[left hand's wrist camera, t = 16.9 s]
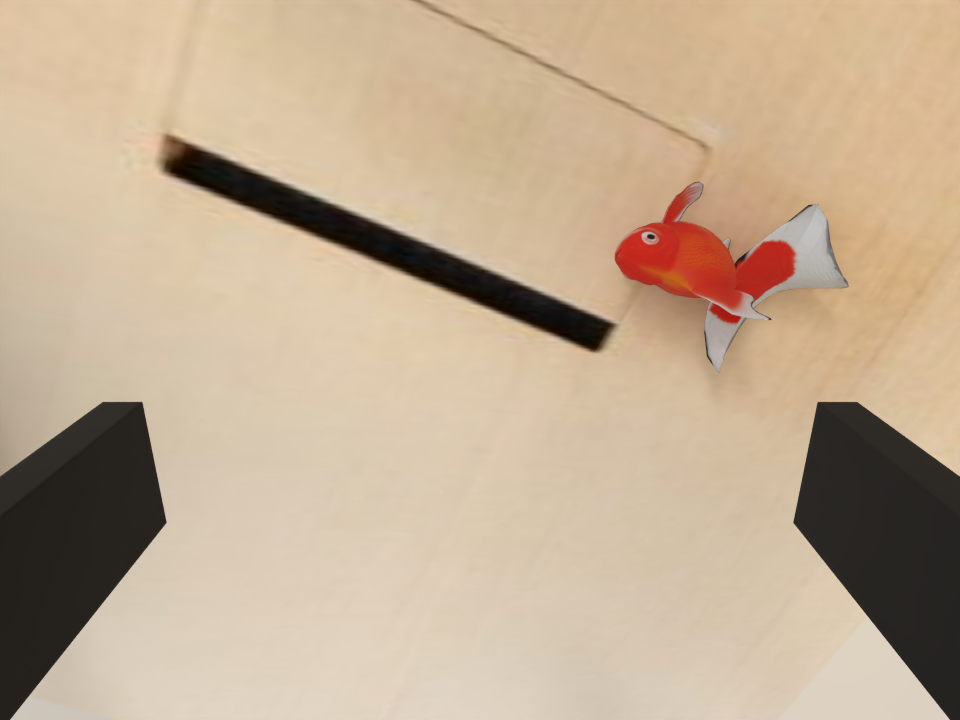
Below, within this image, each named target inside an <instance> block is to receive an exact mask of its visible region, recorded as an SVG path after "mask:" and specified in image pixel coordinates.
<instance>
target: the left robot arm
mask: <svg viewBox="0 0 960 720" xmlns="http://www.w3.org/2000/svg"><path fill="white" fill-rule="evenodd" d="M166 523H167V522H166V517H165V512H164V507H163V503H162V498H161V493H160V488H159V483H158V478H157V473H156V468H155V463H154V458H153V453H152V448H151V443H150V438H149V433H148V428H147V423H146V418H145V413H144V408H143V403H142V402H102V403H101V404H100V405H98V406H97V407H95V408H94V409H93V410H91V411H90V412H89V413H87V414H86V415H84V416H83V417H82V418H80V419H79V420H78V421H76V422H75V423H73V424H72V425H71V426H69V427H68V428H67V429H65V430H64V431H62V432H61V433H60V434H58V435H57V436H55V437H54V438H53V439H51V440H50V441H49V442H47V443H46V444H44V445H43V446H42V447H40V448H39V449H38V450H36V451H35V452H33V453H32V454H31V455H29V456H28V457H27V458H25V459H24V460H22V461H21V462H20V463H18V464H17V465H16V466H14V467H13V468H11V469H10V470H9V471H7V472H6V473H5V474H3V475H2V476H0V720H10V719H11V718H12V717H13V715H14V714H15V713H16V711H17V710H18V709H19V708H20V706H21V705H22V704H23V703H24V701H25V700H26V699H27V698H28V696H29V695H30V694H31V693H32V691H33V690H34V689H35V688H36V686H37V685H38V684H39V683H40V681H41V680H42V679H43V678H44V676H45V675H46V674H47V672H48V671H49V670H50V669H51V667H52V666H53V665H54V664H55V662H56V661H57V660H58V659H59V657H60V656H61V655H62V654H63V652H64V651H65V650H66V649H67V647H68V646H69V645H70V644H71V642H72V641H73V640H74V639H75V637H76V636H77V635H78V633H79V632H80V631H81V630H82V628H83V627H84V626H85V625H86V623H87V622H88V621H89V620H90V618H91V617H92V616H93V615H94V613H95V612H96V611H97V610H98V608H99V607H100V606H101V605H102V603H103V602H104V601H105V600H106V598H107V597H108V596H109V594H110V593H111V592H112V591H113V589H114V588H115V587H116V586H117V584H118V583H119V582H120V581H121V579H122V578H123V577H124V576H125V574H126V573H127V572H128V571H129V569H130V568H131V567H132V566H133V564H134V563H135V562H136V561H137V559H138V558H139V557H140V555H141V554H142V553H143V552H144V550H145V549H146V548H147V547H148V545H149V544H150V543H151V542H152V540H153V539H154V538H155V537H156V535H157V534H158V533H159V532H160V530H161V529H162V528H163V527H164V525H165V524H166ZM793 523H794V524H795V525H796V527H797V528H798V529H799V530H800V532H801V533H802V534H803V535H804V537H805V538H806V539H807V540H808V542H809V543H810V544H811V545H812V547H813V548H814V549H815V550H816V552H817V553H818V554H819V555H820V557H821V558H822V559H823V561H824V562H825V563H826V564H827V566H828V567H829V568H830V569H831V571H832V572H833V573H834V574H835V576H836V577H837V578H838V579H839V581H840V582H841V583H842V584H843V586H844V587H845V588H846V589H847V591H848V592H849V593H850V594H851V596H852V597H853V598H854V600H855V601H856V602H857V603H858V605H859V606H860V607H861V608H862V610H863V611H864V612H865V613H866V615H867V616H868V617H869V618H870V620H871V621H872V622H873V623H874V625H875V626H876V627H877V628H878V630H879V631H880V632H881V633H882V635H883V636H884V637H885V639H886V640H887V641H888V642H889V644H890V645H891V646H892V647H893V649H894V650H895V651H896V652H897V654H898V655H899V656H900V657H901V659H902V660H903V661H904V662H905V664H906V665H907V666H908V667H909V669H910V670H911V671H912V672H913V674H914V675H915V676H916V677H917V679H918V680H919V681H920V682H921V684H922V685H923V686H924V688H925V689H926V690H927V691H928V693H929V694H930V695H931V696H932V698H933V699H934V700H935V701H936V703H937V704H938V705H939V706H940V708H941V709H942V710H943V711H944V713H945V714H946V715H947V716H948V718H949V719H950V720H960V476H958V475H957V474H955V473H954V472H953V471H951V470H950V469H949V468H947V467H946V466H944V465H943V464H942V463H940V462H939V461H938V460H936V459H935V458H933V457H932V456H931V455H929V454H928V453H927V452H925V451H924V450H922V449H921V448H920V447H918V446H917V445H916V444H914V443H913V442H911V441H910V440H909V439H907V438H906V437H905V436H903V435H902V434H900V433H899V432H898V431H896V430H895V429H893V428H892V427H891V426H889V425H888V424H887V423H885V422H884V421H882V420H881V419H880V418H878V417H877V416H876V415H874V414H873V413H871V412H870V411H869V410H867V409H866V408H865V407H863V406H862V405H860V404H859V403H858V402H818V403H817V408H816V413H815V418H814V423H813V428H812V433H811V438H810V443H809V448H808V453H807V458H806V463H805V468H804V473H803V478H802V483H801V488H800V493H799V498H798V503H797V507H796V512H795V517H794V522H793Z"/></svg>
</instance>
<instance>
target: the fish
mask: <svg viewBox="0 0 960 720" xmlns="http://www.w3.org/2000/svg"><path fill="white" fill-rule="evenodd" d="M702 190H703V184H702V183H700V182H695V183H692V184H691V185H689V186H687V187H686V188H685V189H684V190H683V191H682V192H681V193H680V194H678V195H677V196H676V197H675V198H674V200H673V201H672V202H671V204H670V205H669V207H668V209H667V211H666V213H665V216H664V218H663V221H661V222H659V223H651V224H649V225H646V226H643V227H640V228H638V229H636V230H634V231H632V232H630V233H629V234H628V235H627V236H625V237H624V238H623V240H622V241H621V242H620V243H619V245H618V247H617V249H616V252H615V261H616V263H617V265H618V266H619V268H620V270H621V271H622V273H623V275H624V276H625V277H626V278H628V279H632V280H637V281H639V282H642V283H644V284H647V285H657V286H659V287H660V288H662V289H663V290H665V291H667V292H669V293H671V294H674V295H679V296H684V297H692V298H705V299H707V300H709V301H710V303H709V306H708V309H707V314H706V319H705V330H704V333H705V342H706V351H707V357H708V359H709V360H710V362H711V363H712V365H713V366H714V367H715V369H716V370H717V372H718V373H719V372H720V369H721V365H722V362H723V358H724V355H725V353H726V351H727V349H728V347H729V345H730V344H731V342H732V340H733V338H734V336H735V334H736V333H737V331H738V329H739V327H740V326H741V325H742V323H743V322H744V321H745V319H746V318H753V319H764V320H771V318H769V317H767V316H764V315H762V314H760V313H758V312H757V311H755V310H754V308H755V307H756V306H757V305H758V304H759V303H760V302H761V301H763V300H764V299H765V298H767V297H768V296H770V295H772V294H774V293H776V292H779V291H783V290H789V289H796V288H824V289H832V288H846V287H848V286H849V285H848V282H847V281H846V279H845V278H844V277H843V275H842V273H841V271H840V269H839V267H838V265H837V263H836V260H835V257H834V253H833V250H832V247H831V243H830V236H829V227H828V221H827V219H826V217H825V216H824V214H823V212H822V210H821V208H820V207H819V205H818V204H814V205H808V206H807V207H806V208H804V209H803V210H802V211H801V212H799V213H798V214H797V215H796V216H795V217H793V218H792V219H791V220H790V221H788V222H787V223H785V224H784V225H782V226H781V227H780V228H778V229H777V230H775V231H774V232H773V233H771V234H770V235H769V236H767V237H766V238H765V239H763V240H762V241H761V242H760V243H758V244H757V245H756V246H754V247H753V248H752V249H751V250H749V251H748V252H747V253H746V254H744V255H743V256H742V257H740V258H739V259H738V260H737V262H736V263H735V264H734V262H733V260H732V257H731V255H730V253H729V251H728V249H729V244H730V238H727V239H726V240H724V241H723V242H722V241H721V240H720V239H719V238H718V237H717V236H716V235H714V234H713V233H712V232H711V231H709V230H707V229H706V228H703V227H701V226H698V225H695V224H692V223H688V222H681V221H679V220H680V218H681V217H682V215H683V213H684V212H685V210H686V208H687V207H688V206H689V205H691V204H692V203H693V202H695V201H696V200H697V199H698V198H699V197H700V196H701V194H702ZM678 221H679V222H678Z"/></svg>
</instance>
